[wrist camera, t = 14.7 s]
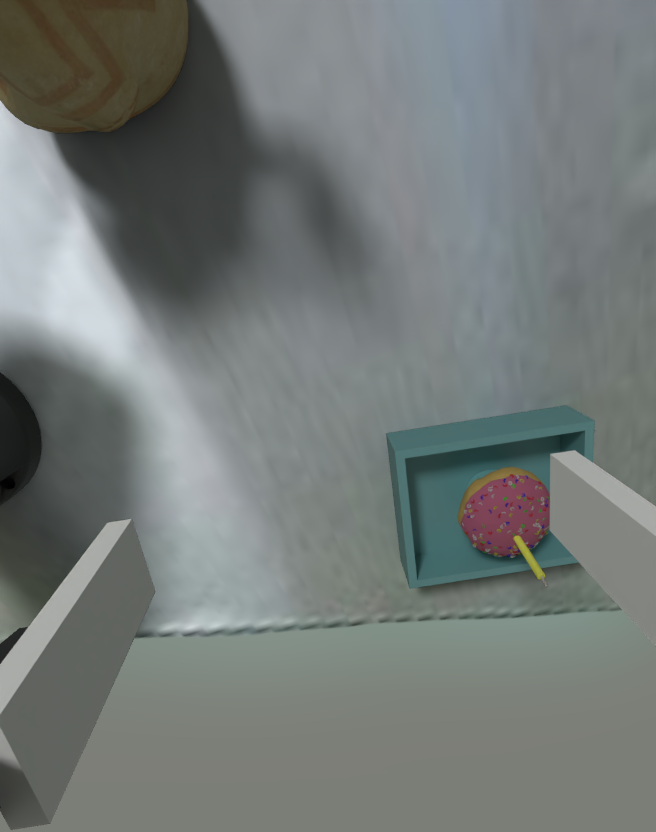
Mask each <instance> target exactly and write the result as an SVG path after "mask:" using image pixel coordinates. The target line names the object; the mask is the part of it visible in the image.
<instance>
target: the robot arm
mask: <svg viewBox="0 0 656 832" xmlns="http://www.w3.org/2000/svg"><path fill="white" fill-rule="evenodd" d="M40 455H41V435H40V430H39V426H38V423H37V420H36V417H35V415H34V413H33V411H32V409H31V407H30V405H29V403H28V402H27V400H26V399H25V397H24V396H23V395H22V394H21V392H20V391H19V390H18V389H17V388H16V387H15V386H14V385H13V384H12V383H11V382H10V381H9V380H8V379H7V378H6V377H5V376H3V375H2V374H1V373H0V505H1V504H3V503H4V502H6V501H7V500H8V499H10V498H11V497H12V496H13V495H15V494H16V493H17V492H19V491H20V490H21V489H22V488H23V487H24V486H25V485H26V484H27V483H28V482H29V481H30V479H31V478H32V476H33V475H34V473H35V471H36V469H37V466H38V463H39V460H40ZM550 531H551V532H552V533H553V535H554V536H555V537H556V538H557V539H558V540H559V541H560V542H561V543H562V544H563V545H564V547H565V548H566V549H567V550H568V551H569V552H570V553H571V554H572V555H573V556H574V558H575V559H576V560H577V561H578V562H579V563H580V564H581V565H582V566H583V567H584V568H585V570H586V571H587V572H588V573H589V574H590V575H591V576H592V577H593V578H594V579H595V580H596V582H597V583H598V584H599V585H600V586H601V587H602V588H603V589H604V590H605V591H606V592H607V594H608V595H609V596H610V597H611V598H612V599H613V600H614V601H615V602H616V603H617V605H618V606H619V607H620V608H621V609H622V610H623V611H624V612H625V613H626V614H627V615H628V617H629V618H630V619H631V620H632V621H633V622H634V623H635V624H636V625H637V626H638V627H639V629H640V630H641V631H642V632H643V633H644V634H645V635H646V636H647V637H648V638H649V639H650V641H651V642H652V643H653V644H654V645H655V646H656V506H654V505H653V504H651V503H650V502H649V501H647V500H646V499H644V498H643V497H641V496H640V495H638V494H637V493H636V492H634V491H633V490H631V489H630V488H628V487H627V486H625V485H624V484H623V483H621V482H620V481H618V480H617V479H615V478H614V477H613V476H611V475H610V474H608V473H607V472H605V471H604V470H602V469H601V468H600V467H598V466H597V465H595V464H594V463H592V462H591V461H590V460H588V459H587V458H585V457H584V456H582V455H581V454H579V453H578V452H577V451H575V450H573V451H566V452H560V453H553V454H550ZM154 593H155V589H154V585H153V582H152V579H151V576H150V573H149V570H148V567H147V564H146V561H145V558H144V555H143V552H142V549H141V545H140V542H139V539H138V536H137V533H136V530H135V527H134V524H133V521H132V519H128V520H121V521H115V522H108V523H107V524H106V525H105V527H104V528H103V529H102V531H101V532H100V533H99V535H98V536H97V537H96V538H95V540H94V541H93V542H92V544H91V545H90V546H89V548H88V549H87V550H86V552H85V553H84V554H83V556H82V557H81V558H80V560H79V561H78V562H77V564H76V565H75V566H74V568H73V569H72V570H71V571H70V573H69V574H68V575H67V577H66V578H65V579H64V581H63V582H62V583H61V585H60V586H59V587H58V589H57V590H56V591H55V593H54V594H53V595H52V597H51V598H50V599H49V601H48V602H47V603H46V604H45V606H44V607H43V608H42V610H41V611H40V612H39V614H38V615H37V616H36V618H35V619H34V620H33V622H32V623H31V624H30V626H29V627H25V628H19V629H18V630H17V631H15V632H14V633H13V634H12V635H11V636H9V637H8V638H7V639H6V640H5V641H3V642H2V643H1V644H0V811H1V813H2V815H3V817H4V819H5V820H6V822H7V824H8V826H9V827H10V829H11V830H13V829H20V828H26V827H32V826H39V825H45V824H50V823H51V821H52V818H53V816H54V814H55V812H56V810H57V807H58V805H59V803H60V801H61V798H62V796H63V794H64V792H65V790H66V787H67V785H68V783H69V781H70V779H71V776H72V774H73V772H74V770H75V767H76V765H77V763H78V761H79V759H80V757H81V754H82V752H83V750H84V748H85V746H86V743H87V741H88V739H89V736H90V735H91V732H92V730H93V728H94V726H95V724H96V721H97V719H98V717H99V715H100V712H101V710H102V708H103V706H104V703H105V701H106V699H107V697H108V695H109V693H110V690H111V688H112V686H113V684H114V681H115V679H116V677H117V675H118V673H119V670H120V668H121V666H122V664H123V662H124V660H125V657H126V655H127V653H128V651H129V649H130V646H131V644H132V642H133V640H134V637H135V635H136V633H137V631H138V629H139V626H140V624H141V622H142V620H143V618H144V615H145V613H146V611H147V609H148V607H149V604H150V602H151V600H152V598H153V596H154Z"/></svg>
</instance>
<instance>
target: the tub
mask: <svg viewBox="0 0 656 832" xmlns="http://www.w3.org/2000/svg"><path fill="white" fill-rule="evenodd" d="M594 425H595V421H594V420H593V419H591V418H589V417H587V416H585V415H583V414H582V413H580V412H578V411H576V410H574V409H572V408H571V407H569V406H560V407H554V408H547V409H541V410H534V411H528V412H521V413H515V414H509V415H502V416H496V417H489V418H483V419H476V420H470V421H463V422H457V423H451V424H444V425H438V426H431V427H425V428H418V429H412V430H405V431H399V432H393V433H386V436H387V445H388V453H389V462H390V471H391V480H392V488H393V497H394V506H395V515H396V523H397V532H398V541H399V550H400V559H401V563H402V566H403V569H404V572H405V575H406V578H407V581H408V584H409V588H410V589H411V588H417V587H423V586H430V585H436V584H443V583H449V582H456V581H462V580H469V579H475V578H482V577H488V576H494V575H501V574H507V573H514V572H520V571H527V570H532V569H531V567H530V566H529V564H528V562H527V561H526V559H525V558H524V556H523V554H518V555H515V557H513V556H512V555H511V557H513V558H511V557H510V556H509V557H507V556H501V557H498V556H497V555H496V556H497V557H496V556H494V555H492V554H487V553H484V552H483V551H481V550H479V549H477V548H476V547H473V545H472V543H471V541H470V540H469V538H468V537H467V536H466V535H465V533H464V532H463V530H462V528H461V526H460V524H459V522H458V518H457V517H458V512H459V508H460V504H461V501H462V498H463V495H464V493H465V491H466V487H467V484H468V483H469V481H470V480H471V479H472V477H474V476H475V475H476V474H478V473H479V472H482V471H484V470H490V469H494V470H499V469H501V468H505V467H517V468H520V469H523V470H526V471H529V472H531V473H533V474H534V475H535V476H537V477H538V478H539V479H540V480H541V481H542V483H543V484H544V485H545V486H546V488H547V490H548V491H549V493H550V454H553V453H560V452H566V451H573V450H575V451H577V452H578V453H579V454H581V455H582V456H584V457H585V458H587V459H588V460H590V461H591V462H592V463H593V449H594ZM536 544H537V543H536ZM529 551H530V552H531V554H532V555H533V557H534V558H535V560H536V561H537V563H538V564H539V566H540V568H546V567H553V566H559V565H565V564H572V563H578V561H577V560H576V559H575V558H574V556H573V555H572V554H571V553H570V552H569V551H568V550H567V549H566V548H565V547H564V545H563V544H562V543H561V542H560V541H559V540H558V539H557V538H556V537H555V536H554V535H553V533H552V532H551V531H550V527H549V530H548V531H547V535H544V537H543V538H542V539H541V540H540V542H539V543H538V545H536V546H535V547H534V548H532V549H531V550H529Z"/></svg>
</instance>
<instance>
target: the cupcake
mask: <svg viewBox="0 0 656 832" xmlns="http://www.w3.org/2000/svg"><path fill="white" fill-rule="evenodd" d="M457 518H458V522H459V524H460V526H461V528H462V530H463V532H464V533H465V535H466V536H467V537H468V538H469V540H470V541H471V543H472V545H473V547H476V548H477V549H479V550H481V551H483V552H484V553H487V554H492V555H494V556H496V555H497V556H498V557H501V556H507V557H509V556H510V557H511V555H512V556H513V557H515V555H518V554H523V556H524V558H525V559H526V561H527V562H528V564H529V566H530V567H531V569H532V570H533V572H534V574H535V575H536V577H537V578H538V579H539V580H542V582H543V583H544V585H545V587H548V585H547V583H546V581H545V580H544V578H545V574H544V572H543V571H542V569H541V568H540V566H539V564H538V563H537V561H536V560H535V558H534V557H533V555H532V554H531V552H530V551H529V550H531V549H532V548H534V547H535V546H536V545H538V543H539V542H540V540H541V539H542V538H543V537H544V535H547V531H548V530H549V527H550V493H549V491H548V490H547V488H546V486H545V485H544V484H543V483H542V481H541V480H540V479H539V478H538V477H537V476H535V475H534V474H533V473H531V472H529V471H526V470H523V469H520V468H517V467H505V468H501V469H499V470H494V469H490V470H484V471H482V472H479V473H478V474H476V475H475V476H474V477H472V479H471V480H470V481H469V483H468V484H467V487H466V491H465V493H464V495H463V498H462V501H461V504H460V508H459V512H458V517H457ZM536 543H537V544H536ZM497 556H496V557H497ZM513 557H511V558H513Z"/></svg>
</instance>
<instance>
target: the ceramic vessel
mask: <svg viewBox="0 0 656 832" xmlns="http://www.w3.org/2000/svg"><path fill="white" fill-rule="evenodd" d="M187 43H188V7H187V0H0V100H1V102H2V103H3V104H4V106H5V107H6V108H7V109H8V110H9V111H10V112H11V113H12V114H13V115H14V116H15V117H16V118H18V119H19V120H21V121H22V122H24V123H25V124H27V125H29V126H32V127H34V128H37V129H42V130H45V131H49V132H57V133H75V132H83V131H89V130H93V131H101V132H111V131H114V130H116V129H118V128H120V127H121V126H123V125H124V124H125V123H126V121H127V120H129V119H131V118H132V117H134V116H136V115H138V114H140V113H142V112H144V111H146V110H147V109H148V108H150V107H151V106H153V105H154V104H156V103H157V102H158V101H159V100H160V99H161V98H162V97H163V96H164V95H165V94H166V93H167V92H168V91H169V89H170V88H171V87H172V85H173V84H174V83H175V81H176V79H177V76H178V74H179V72H180V70H181V67H182V64H183V61H184V58H185V54H186V49H187Z"/></svg>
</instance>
